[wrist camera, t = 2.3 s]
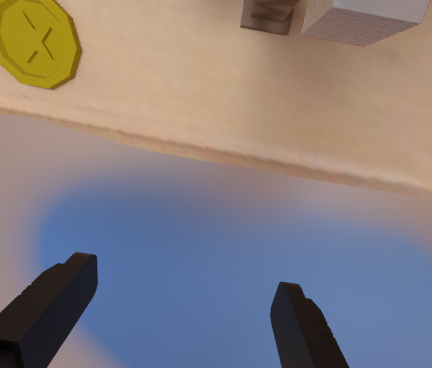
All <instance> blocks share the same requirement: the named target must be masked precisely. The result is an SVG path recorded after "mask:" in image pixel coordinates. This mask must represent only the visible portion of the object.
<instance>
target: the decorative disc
mask: <svg viewBox="0 0 432 368" xmlns="http://www.w3.org/2000/svg"><path fill="white" fill-rule="evenodd" d="M81 52H82V50H81V46H80V43H79V39H78V36H77V32H76V29H75V26H74V22H73V19H72V18H71V17H70V15H69V14H68V13H67V12H66V11H65V10H64V9H63V8H62V7H61V6H60V5H59V4H58V3H57V2H56V1H55V0H0V65H1V66H2V67H3V68H5V69H6V70H7V71H8V72H9V73H10V74H11V75H12V76H14V77H15V78H16V79H17V80H18V81H19V82H20V83H23V84H28V85H33V86H38V87H43V88H48V89H55V88H56V87H58V86H60V85H61V84H63V83H65V82H67V81H68V80H70V79H72V78H73V77H74V76H75V72H76V69H77V66H78V62H79V59H80V55H81Z"/></svg>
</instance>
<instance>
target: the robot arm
mask: <svg viewBox="0 0 432 368" xmlns="http://www.w3.org/2000/svg"><path fill="white" fill-rule="evenodd" d="M97 275H98V274H97V257H96V255H94V254H87V253H80V252H76V253H74V254H73V255H72V256H71V257H70V258H69V259H68V260H67V261H66V262H65V263H64V264H60V263H58V264H56V265H54V266H53V267H51V268H49V269H47V270H46V271H44V272H43V273H41V274H40V275H39V276H38V278H36V279H35V280H34V281H33V282H32V284H31V285H29V286H28V287H27V288H26V289H25V290H24V291H23V292H22V293H21V295H18V296H17V297H16V298H15V299H14V300H13V301H12V302H11V303H10V304H9V305H8V306H7V307H6V308H5V309H4V310H2V312H1V313H0V368H47V367H48V365H49V364H50V362H51V361H52V359H53V358H54V356H55V355H56V353H57V352H58V350H59V348H60V347H61V345H62V344H63V342H64V341H65V339H66V338H67V336H68V335H69V333H70V332H71V330H72V329H73V327H74V326H75V324H76V323H77V321H78V319H79V318H80V316H81V315H82V313H83V312H84V310H85V308H86V307H87V306H88V304H89V303H90V301H91V300H92V298H93V296H94V294H95V292H96V289H97V284H98V276H97ZM270 318H271V324H272V329H273V332H274V337H275V341H276V345H277V349H278V353H279V357H280V362H281V366H282V368H349V366H348V364H347V362H346V360H345V358H344V356H343V354H342V352H341V350H340V348H339V346H338V344H337V342H336V340H335V338H334V337H333V334H332V332H331V330H330V328H329V326H328V325H327V322H326V320H325V317H324V315H323V313H322V311H321V310H320V309H319V308H318V306H317V305H316V304H315V303H314V302H313V301H312V300H311V299H308V298H305V295H304V294H303V291H302V289H301V287H300V285H299V284H294V283H287V282H280V283H279V285H278V288H277V291H276V294H275V297H274V300H273V303H272V306H271V312H270Z"/></svg>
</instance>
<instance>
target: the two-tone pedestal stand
mask: <svg viewBox="0 0 432 368" xmlns="http://www.w3.org/2000/svg"><path fill="white" fill-rule="evenodd" d="M298 1H299V0H245V2H244V8H243V14H242V20H241V26H240V27H243V28H248V29H254V30H259V31H264V32H270V33H275V34H281V35H287V34H288V30H289V26H290V22H291V17H292V13H293V9H294V6H295V5H296V4H297V2H298Z"/></svg>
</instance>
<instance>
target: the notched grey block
mask: <svg viewBox="0 0 432 368" xmlns="http://www.w3.org/2000/svg"><path fill="white" fill-rule="evenodd" d="M429 2H430V0H309V2H308V6H307V10H306V14H305V18H304V22H303V26H302V30H301V34H300V35H301V36H307V37H312V38H317V39H323V40H328V41H334V42H339V43H344V44H350V45H355V46H361V47H365V46H367V45H370V44H372V43H374V42H377V41H379V40H382V39H384V38H387V37H389V36H392V35H394V34H396V33H399V32H401V31H404V30H406V29H409V28H411V27H414V26H416V25H418V24H421V21H422V19H423V17H424V14H425V12H426V9H427V7H428V4H429Z"/></svg>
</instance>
